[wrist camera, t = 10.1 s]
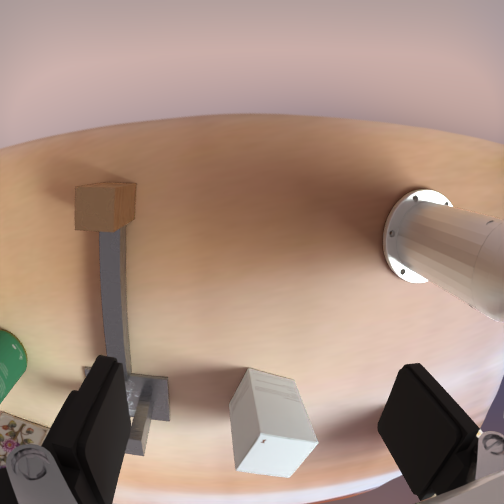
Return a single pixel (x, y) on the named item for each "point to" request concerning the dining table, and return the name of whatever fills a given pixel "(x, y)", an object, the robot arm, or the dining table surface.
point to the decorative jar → (18, 435)
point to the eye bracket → (144, 407)
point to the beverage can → (10, 362)
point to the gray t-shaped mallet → (110, 256)
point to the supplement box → (269, 425)
